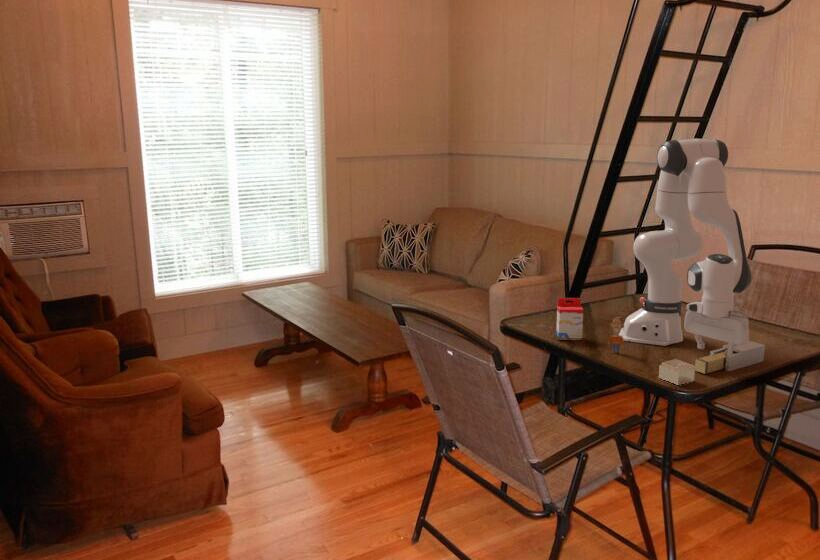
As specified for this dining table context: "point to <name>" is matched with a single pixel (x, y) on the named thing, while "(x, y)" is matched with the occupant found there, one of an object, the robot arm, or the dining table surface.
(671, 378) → the sleeve and socket
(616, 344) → the toy
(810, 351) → the dining table surface
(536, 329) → the dining table surface
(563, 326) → the ink box
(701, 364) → the tan block
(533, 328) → the dining table surface
